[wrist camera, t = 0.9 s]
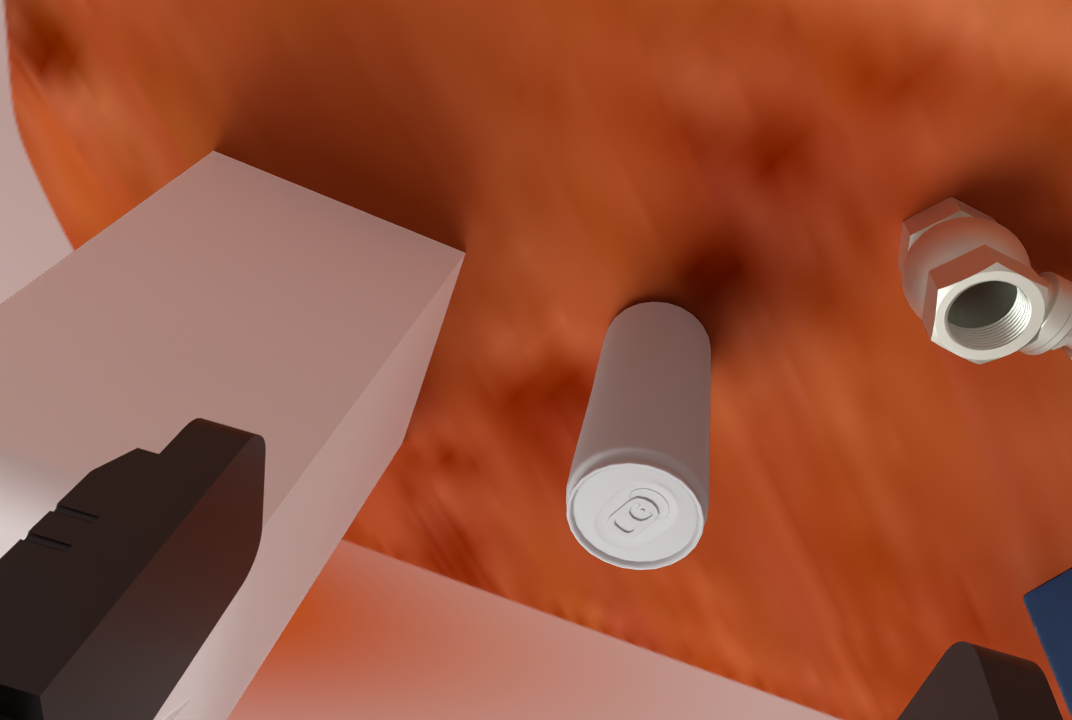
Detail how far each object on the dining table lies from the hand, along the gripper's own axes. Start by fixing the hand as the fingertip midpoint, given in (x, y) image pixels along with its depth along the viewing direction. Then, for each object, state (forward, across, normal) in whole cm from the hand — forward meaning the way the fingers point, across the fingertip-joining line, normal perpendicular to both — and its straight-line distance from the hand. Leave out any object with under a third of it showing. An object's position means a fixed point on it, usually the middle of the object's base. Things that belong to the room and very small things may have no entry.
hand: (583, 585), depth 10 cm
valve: (+27, -16, +4) cm, 31 cm away
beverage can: (+27, -2, +11) cm, 29 cm away
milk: (+27, +14, +14) cm, 33 cm away
